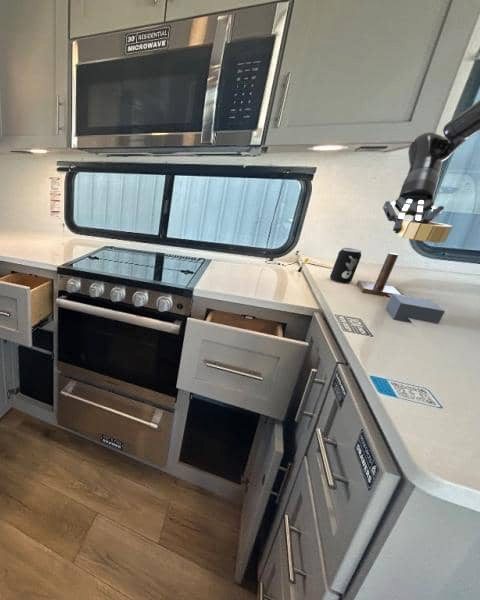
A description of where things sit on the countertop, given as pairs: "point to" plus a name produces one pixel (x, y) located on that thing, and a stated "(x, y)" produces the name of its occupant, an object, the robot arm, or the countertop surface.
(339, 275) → the black printed box
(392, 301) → the block
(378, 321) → the countertop surface
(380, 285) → the stand
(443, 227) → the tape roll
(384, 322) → the countertop surface
